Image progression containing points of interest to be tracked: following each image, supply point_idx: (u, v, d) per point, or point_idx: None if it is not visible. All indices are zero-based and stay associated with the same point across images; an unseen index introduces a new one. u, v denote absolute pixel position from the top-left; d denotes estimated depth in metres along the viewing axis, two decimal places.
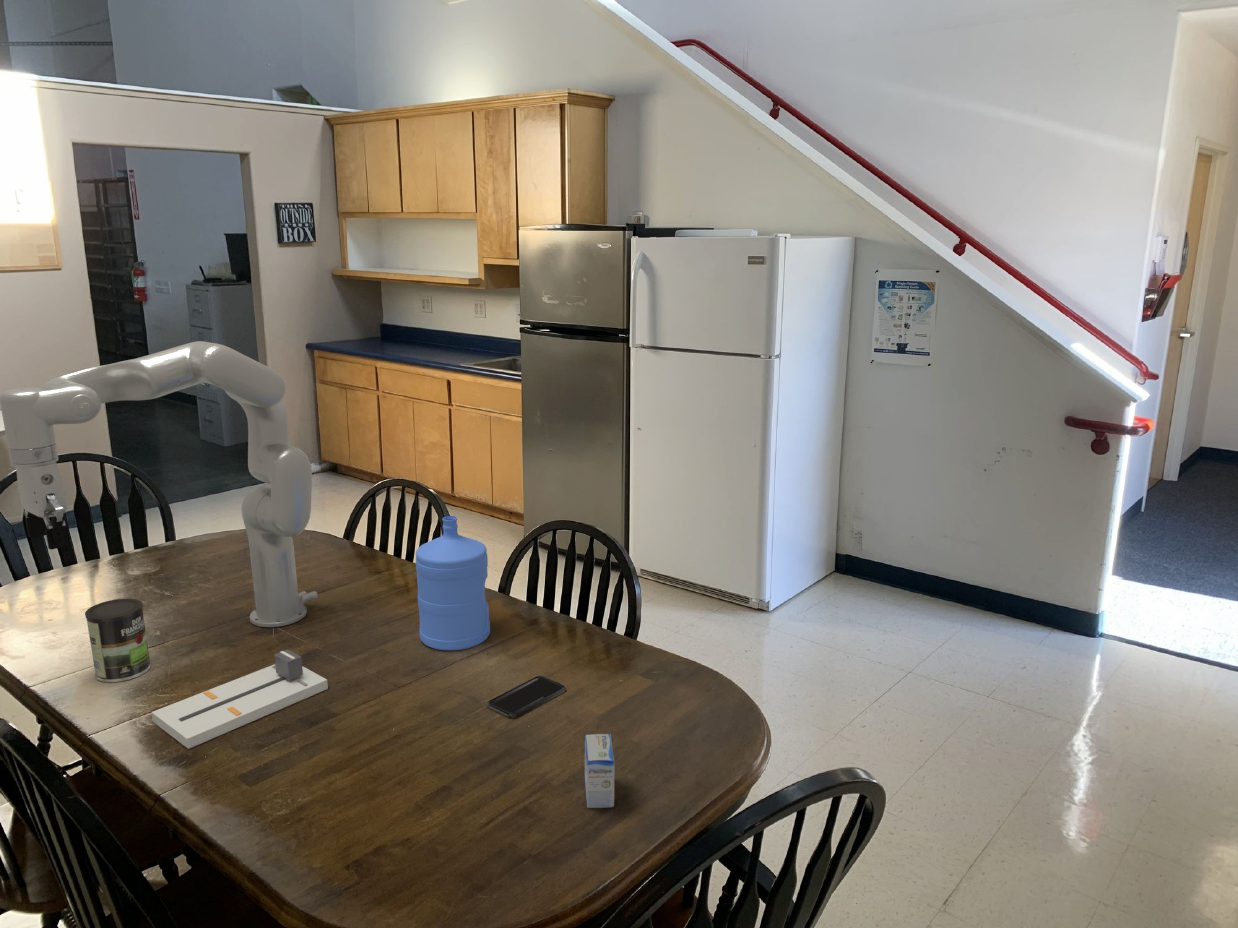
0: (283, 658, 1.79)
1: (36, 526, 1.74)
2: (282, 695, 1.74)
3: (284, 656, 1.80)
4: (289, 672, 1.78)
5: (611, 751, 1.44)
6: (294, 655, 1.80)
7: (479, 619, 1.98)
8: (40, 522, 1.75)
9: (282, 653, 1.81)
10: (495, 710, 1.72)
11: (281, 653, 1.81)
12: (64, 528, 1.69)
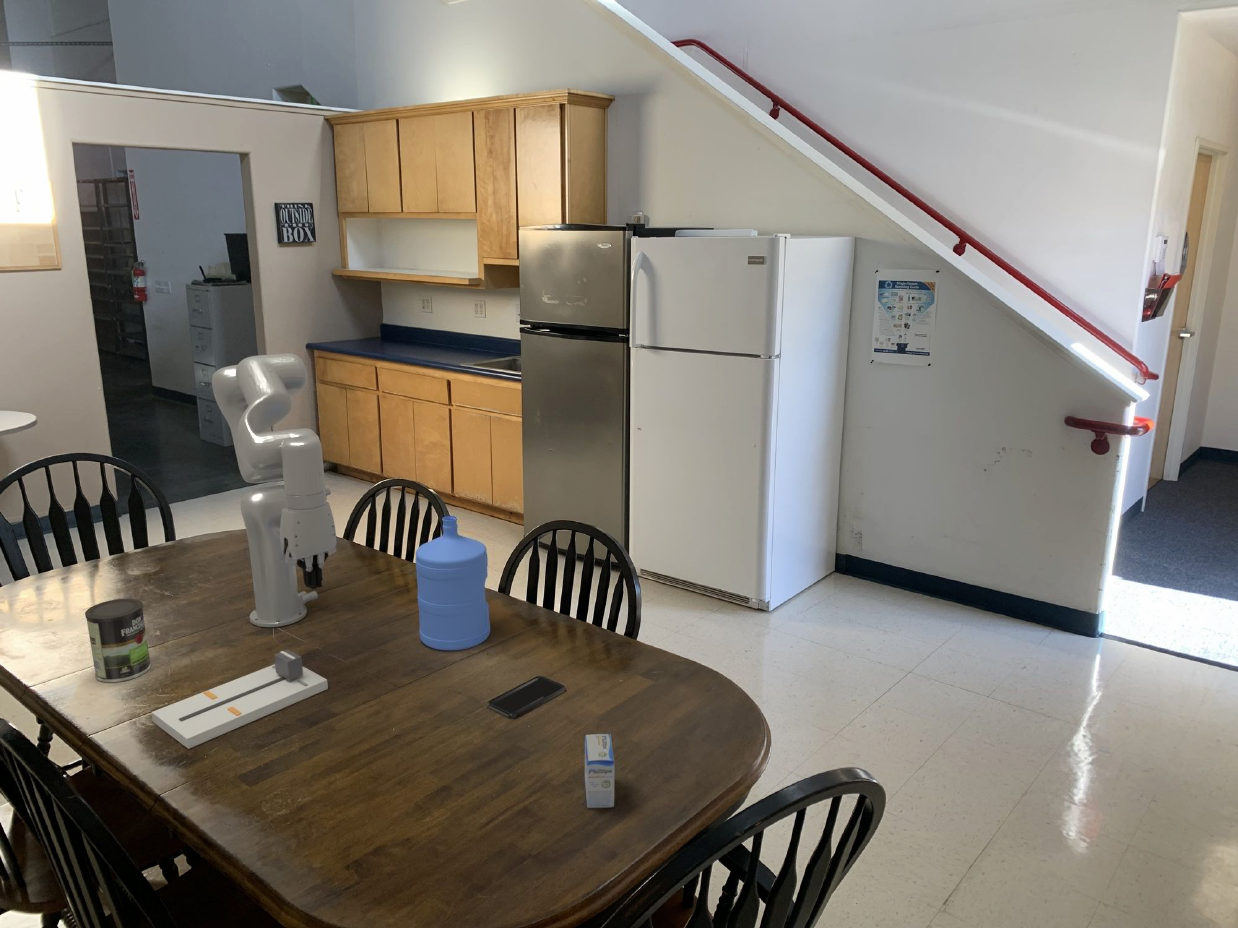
0: (283, 658, 1.79)
1: None
2: (282, 695, 1.74)
3: (284, 656, 1.80)
4: (289, 672, 1.78)
5: (611, 751, 1.44)
6: (294, 655, 1.80)
7: (479, 619, 1.98)
8: None
9: (282, 653, 1.81)
10: (495, 710, 1.72)
11: (281, 653, 1.81)
12: None
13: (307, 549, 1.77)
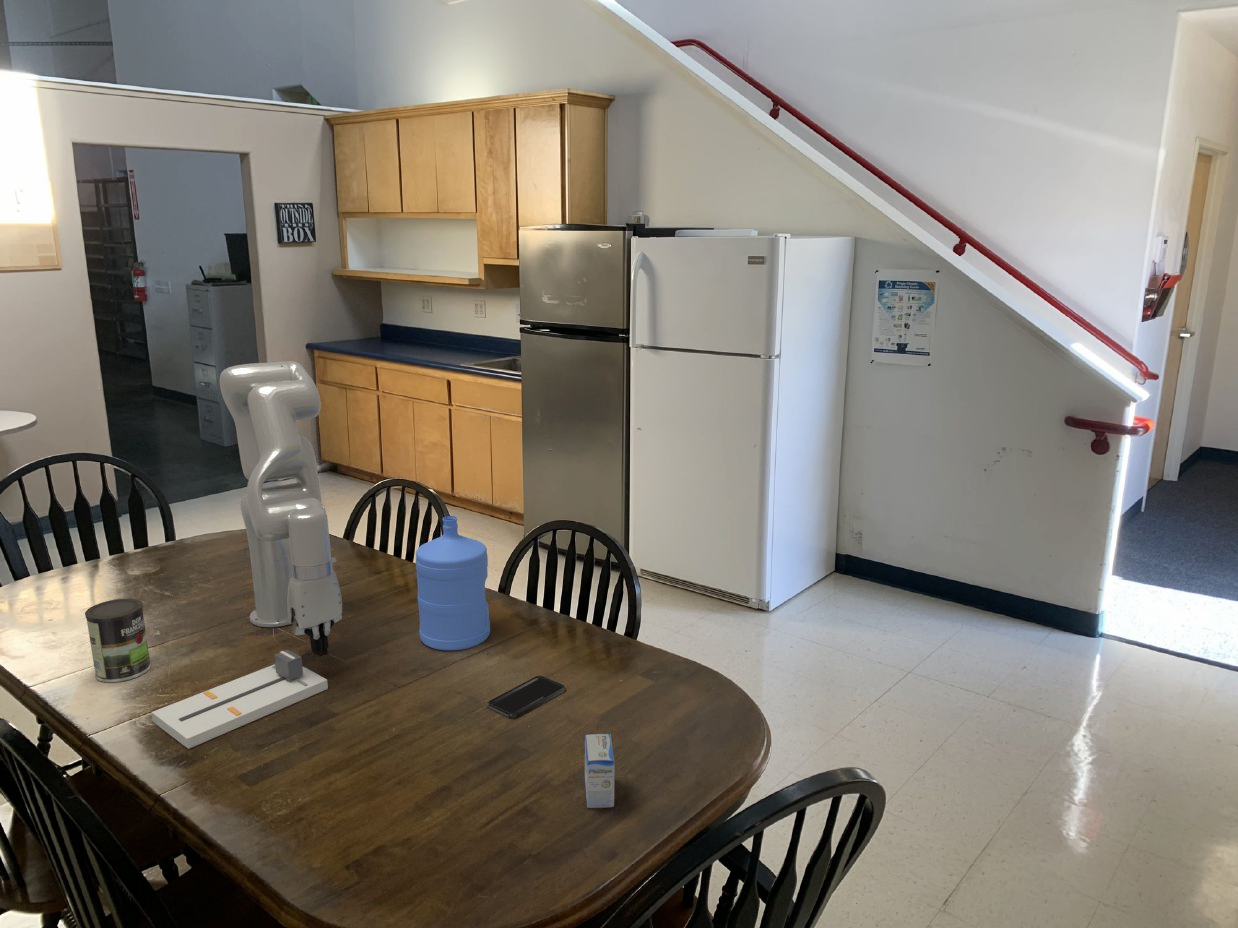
0: (283, 658, 1.79)
1: None
2: (282, 695, 1.74)
3: (284, 656, 1.80)
4: (289, 672, 1.78)
5: (611, 751, 1.44)
6: (294, 655, 1.80)
7: (479, 619, 1.98)
8: None
9: (282, 653, 1.81)
10: (495, 710, 1.72)
11: (281, 653, 1.81)
12: None
13: (314, 618, 1.80)
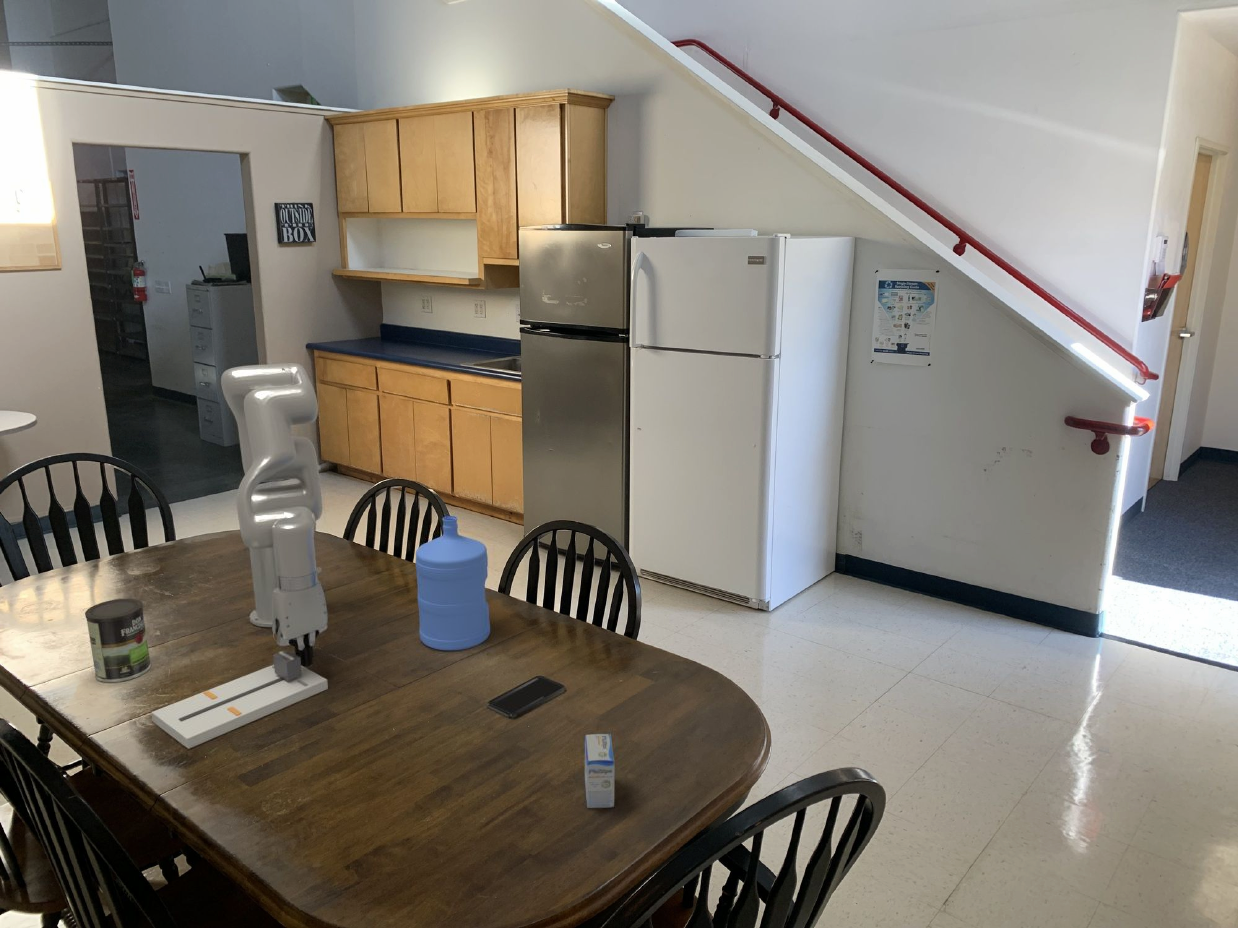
0: (282, 658, 1.79)
1: None
2: (282, 695, 1.74)
3: (283, 656, 1.80)
4: (288, 672, 1.78)
5: (611, 751, 1.44)
6: (293, 655, 1.80)
7: (479, 619, 1.98)
8: None
9: (281, 653, 1.81)
10: (495, 710, 1.72)
11: (280, 653, 1.81)
12: None
13: (298, 629, 1.78)
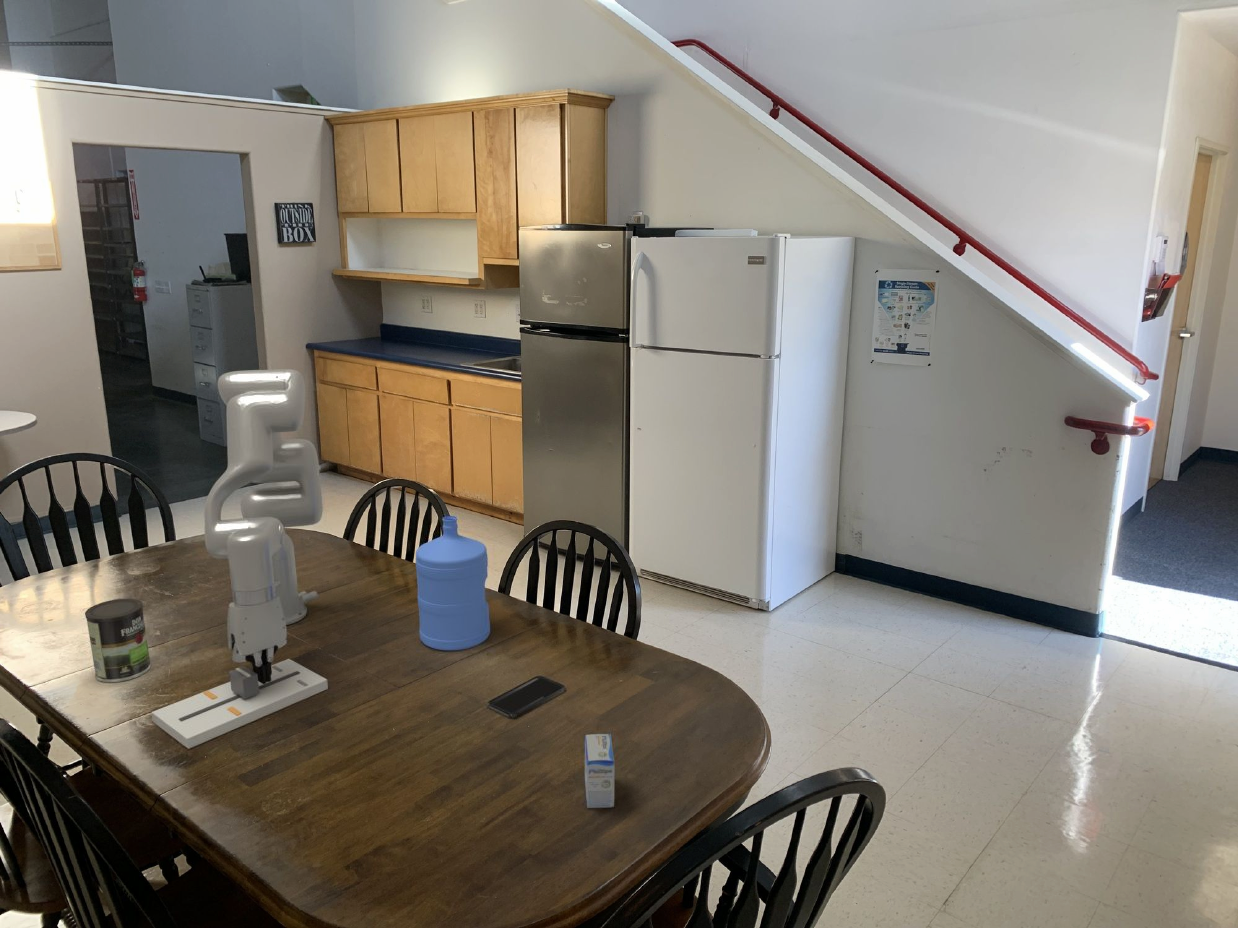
0: (238, 675, 1.72)
1: None
2: (282, 695, 1.74)
3: (239, 673, 1.73)
4: (244, 690, 1.71)
5: (611, 751, 1.44)
6: (250, 672, 1.73)
7: (479, 619, 1.98)
8: None
9: (238, 670, 1.74)
10: (495, 710, 1.72)
11: (237, 670, 1.74)
12: None
13: (255, 645, 1.72)
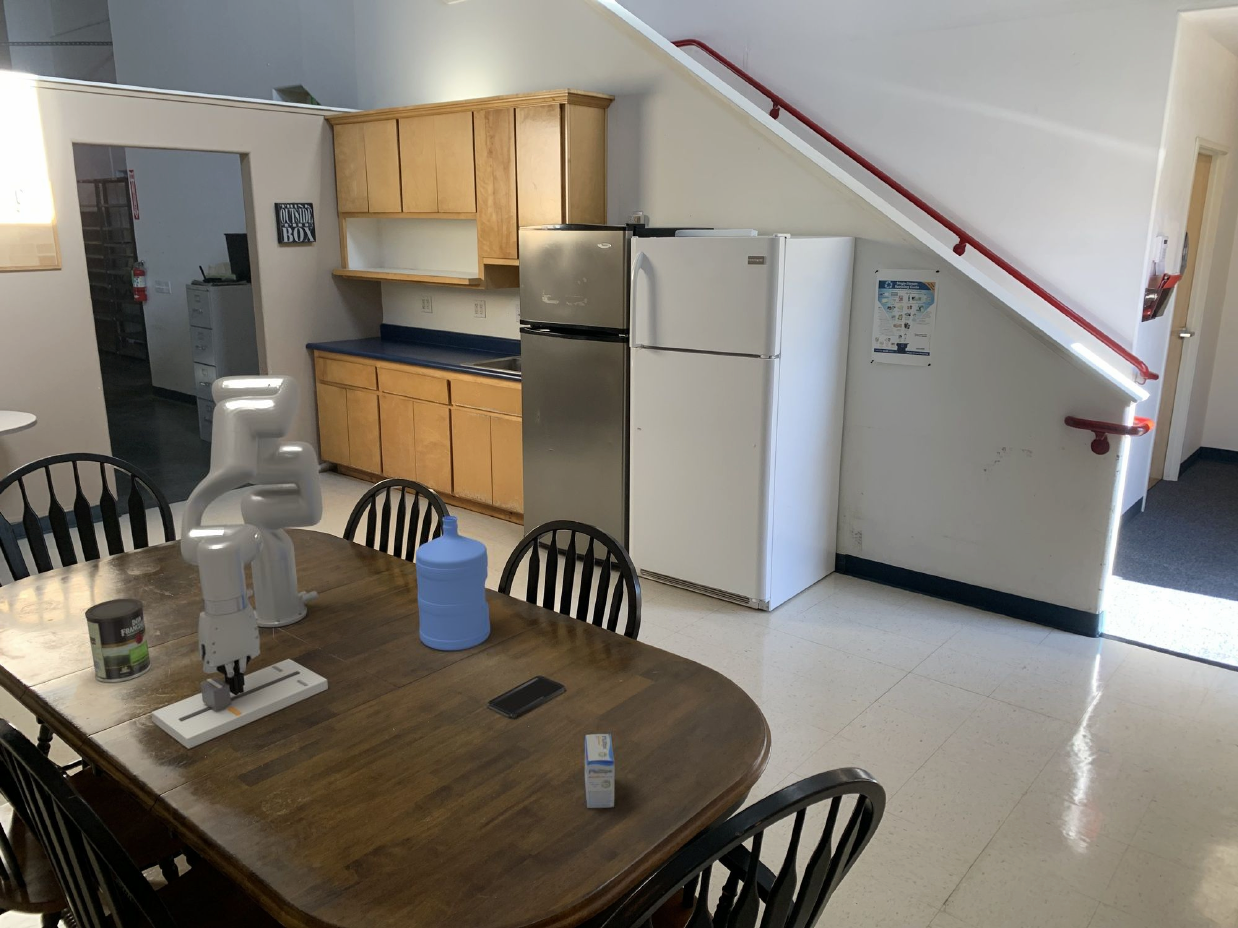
0: (209, 686, 1.68)
1: None
2: (282, 695, 1.74)
3: (211, 684, 1.69)
4: (215, 701, 1.67)
5: (611, 751, 1.44)
6: (221, 683, 1.69)
7: (479, 619, 1.98)
8: None
9: (209, 681, 1.70)
10: (495, 710, 1.72)
11: (208, 681, 1.70)
12: None
13: (226, 655, 1.67)
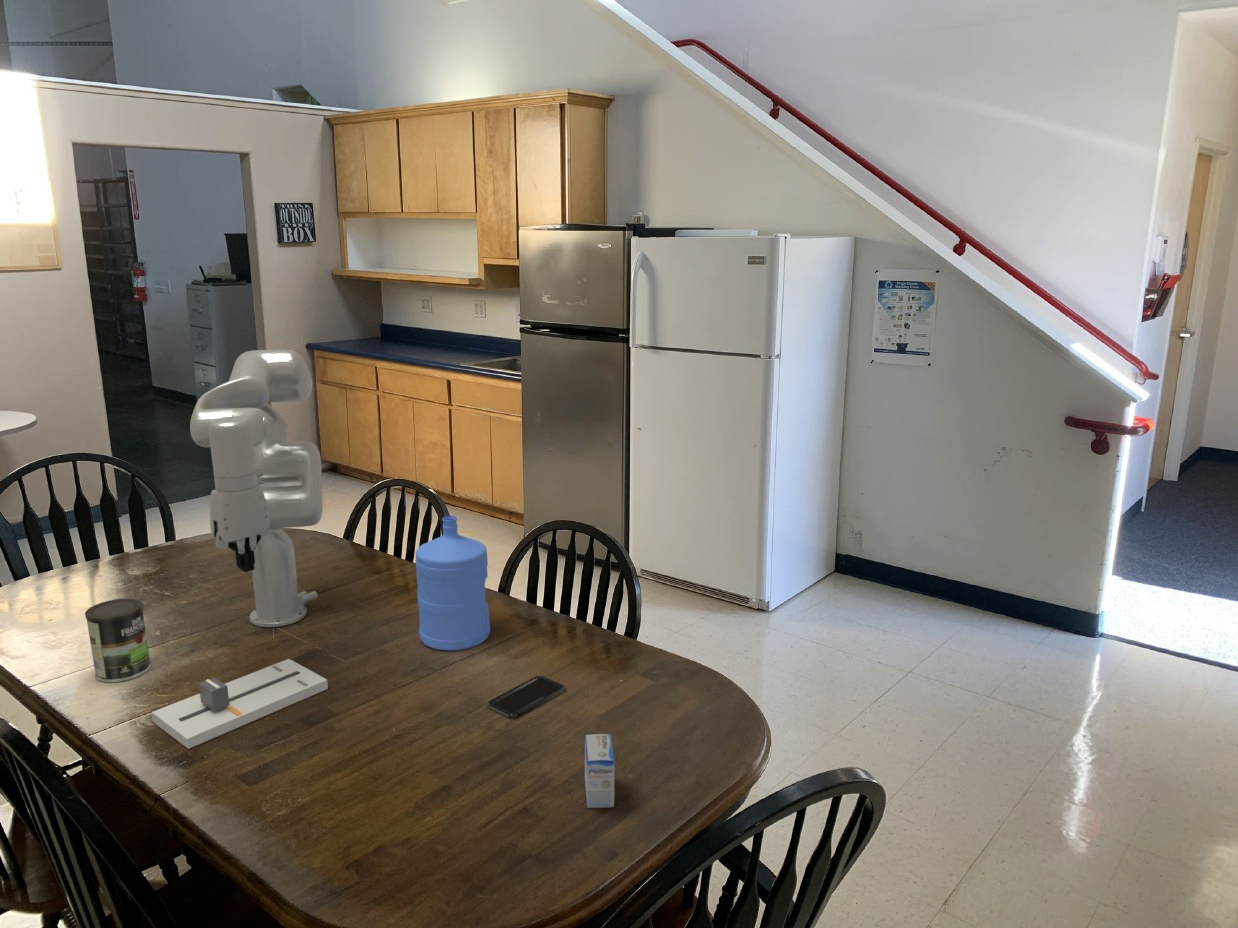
0: (207, 687, 1.68)
1: None
2: (282, 695, 1.74)
3: (209, 685, 1.68)
4: (213, 702, 1.67)
5: (611, 751, 1.44)
6: (220, 684, 1.69)
7: (479, 619, 1.98)
8: None
9: (207, 682, 1.69)
10: (495, 710, 1.72)
11: (206, 682, 1.69)
12: None
13: (238, 532, 1.73)
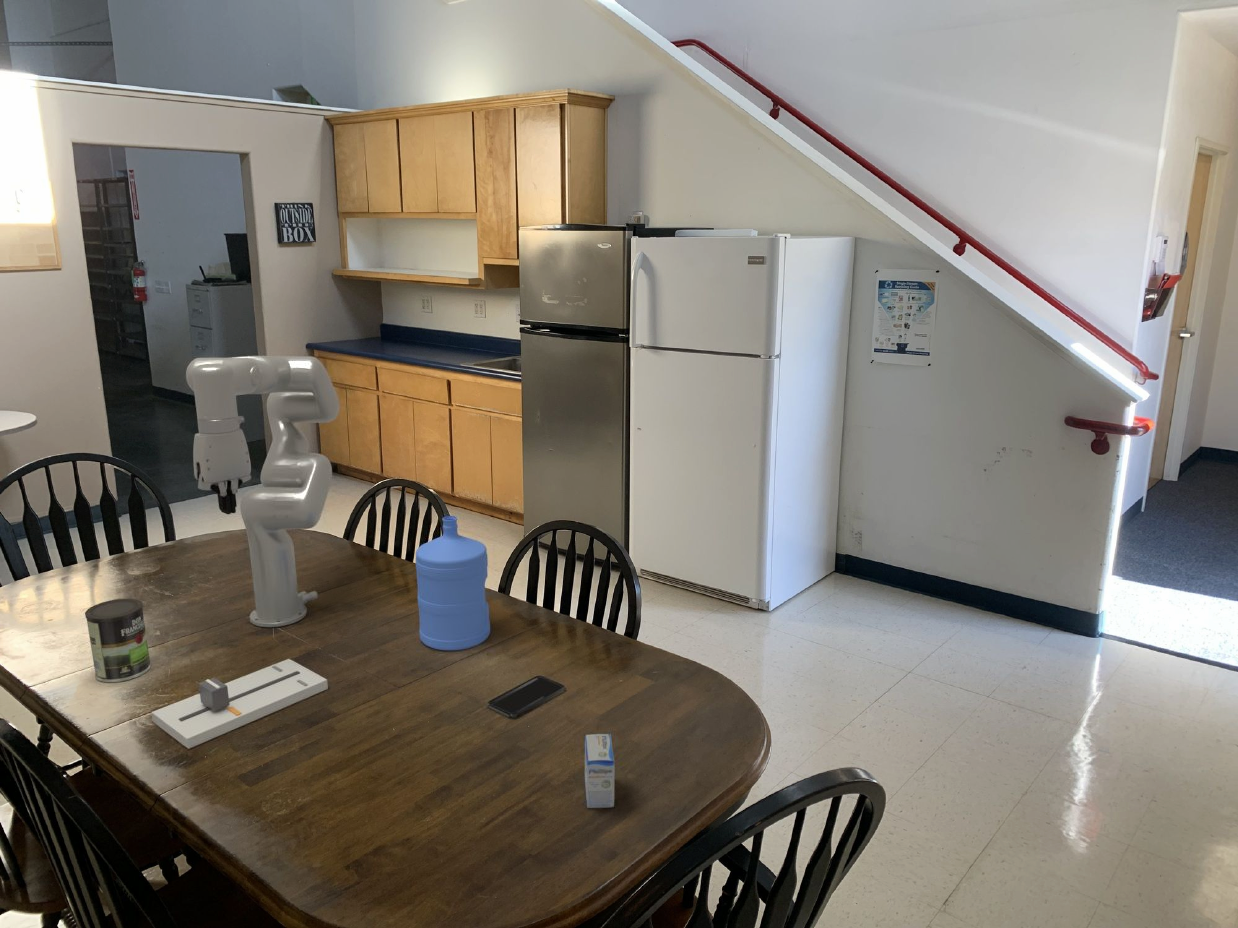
0: (207, 687, 1.68)
1: None
2: (282, 695, 1.74)
3: (209, 685, 1.68)
4: (213, 702, 1.67)
5: (611, 751, 1.44)
6: (220, 684, 1.69)
7: (479, 619, 1.98)
8: None
9: (207, 682, 1.69)
10: (495, 710, 1.72)
11: (206, 682, 1.69)
12: None
13: (220, 474, 1.82)
